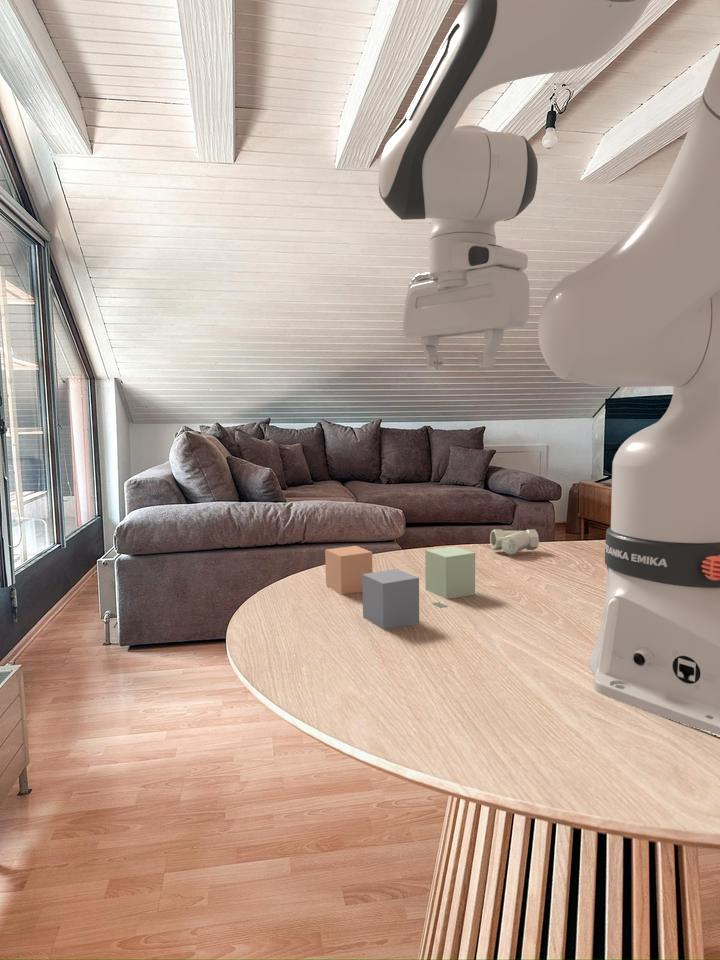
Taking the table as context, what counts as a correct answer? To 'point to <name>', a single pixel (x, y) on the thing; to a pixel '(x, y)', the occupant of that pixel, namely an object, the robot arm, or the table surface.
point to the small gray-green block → (439, 604)
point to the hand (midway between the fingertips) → (459, 368)
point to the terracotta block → (347, 568)
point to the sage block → (450, 572)
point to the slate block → (391, 598)
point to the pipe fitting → (514, 540)
